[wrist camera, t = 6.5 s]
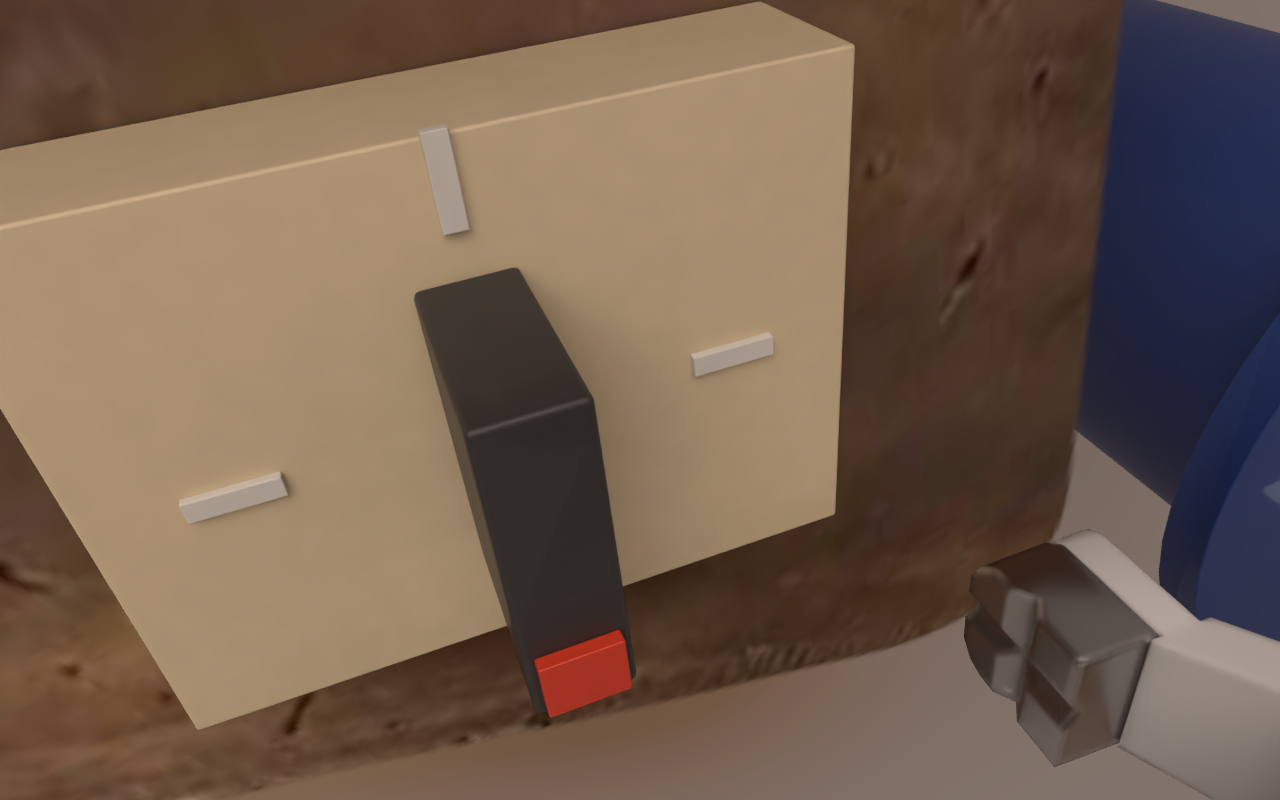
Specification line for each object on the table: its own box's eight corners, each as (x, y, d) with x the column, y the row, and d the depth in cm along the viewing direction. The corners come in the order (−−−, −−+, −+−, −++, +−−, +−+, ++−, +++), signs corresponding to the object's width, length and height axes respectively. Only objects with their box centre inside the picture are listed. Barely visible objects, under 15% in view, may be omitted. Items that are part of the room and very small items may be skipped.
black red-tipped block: (410, 290, 13) (467, 447, 10) (518, 263, 13) (602, 408, 10) (481, 551, 16) (542, 732, 13) (568, 524, 16) (645, 693, 13)
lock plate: (761, -7, 15) (863, 39, 13) (767, 433, 21) (840, 524, 18) (-47, 150, 13) (-110, 245, 10) (202, 610, 18) (198, 743, 16)
